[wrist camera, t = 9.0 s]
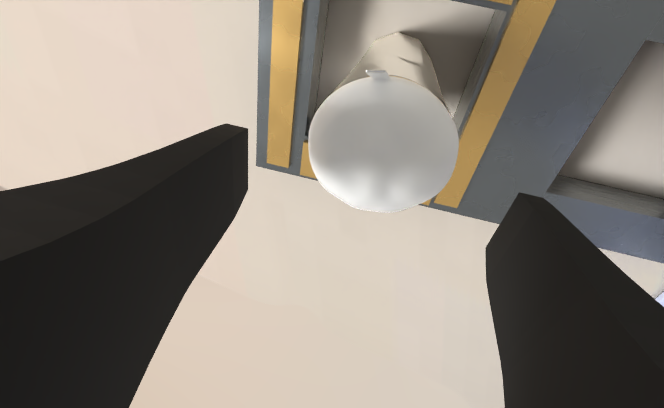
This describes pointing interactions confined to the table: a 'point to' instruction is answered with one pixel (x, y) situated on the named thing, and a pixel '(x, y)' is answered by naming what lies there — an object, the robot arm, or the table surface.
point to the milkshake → (385, 131)
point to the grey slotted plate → (492, 108)
